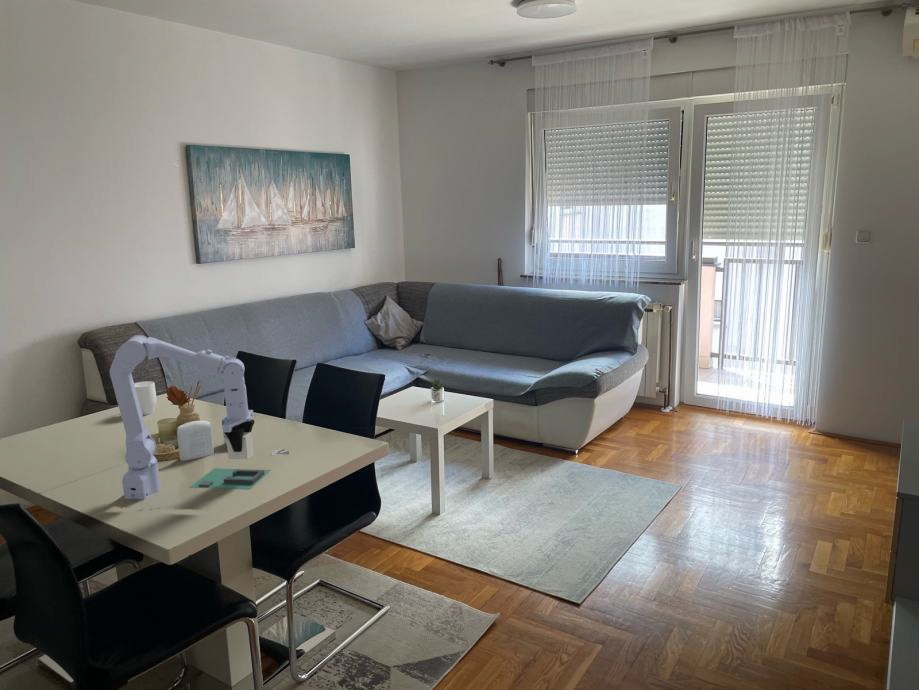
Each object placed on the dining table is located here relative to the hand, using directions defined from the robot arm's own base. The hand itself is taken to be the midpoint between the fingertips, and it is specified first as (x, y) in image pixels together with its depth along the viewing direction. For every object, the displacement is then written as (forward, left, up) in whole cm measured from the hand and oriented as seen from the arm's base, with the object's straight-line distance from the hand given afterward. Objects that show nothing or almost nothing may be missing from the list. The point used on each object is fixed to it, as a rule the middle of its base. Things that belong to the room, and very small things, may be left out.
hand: (241, 448), depth 195 cm
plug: (0, 0, -2) cm, 2 cm away
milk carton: (+30, +18, -10) cm, 37 cm away
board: (0, +4, -10) cm, 11 cm away
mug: (+64, +73, -10) cm, 98 cm away
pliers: (+18, +2, -11) cm, 21 cm away
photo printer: (+17, +24, -10) cm, 31 cm away
